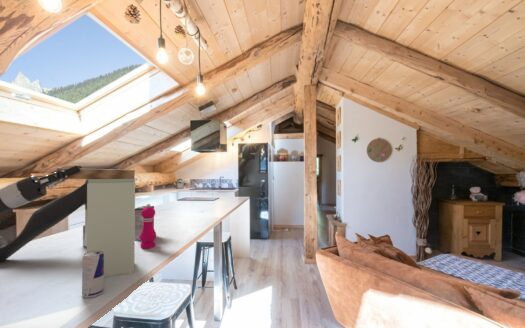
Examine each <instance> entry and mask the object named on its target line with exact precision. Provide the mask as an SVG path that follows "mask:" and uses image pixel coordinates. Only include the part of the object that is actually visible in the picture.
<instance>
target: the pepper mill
mask: <svg viewBox="0 0 525 328" xmlns="http://www.w3.org/2000/svg"><path fill="white" fill-rule="evenodd" d="M145 206H146V208H144V209H143V210H142V212H141V215H142V216H143V218H142V219H143V220H142V221H143V229H142V232H141V234H140V240H139V241H140V242H141V243H140V248H141V249H143V250H144V249H145V250H146V249H153V248H155V246H156V239H157V232H156V230H155V226H154V227H153V221H154V222H155V216H156V210H155V207H154V208H152V207H150V206H151V204H150V203H147V204H146V205H145ZM153 216H154V217H153Z"/></svg>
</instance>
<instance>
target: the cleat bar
mask: <svg viewBox="0 0 525 328" xmlns="http://www.w3.org/2000/svg"><path fill="white" fill-rule="evenodd" d="M69 168H70V167H57V168H56V172H58V171H62V170H67V169H69ZM135 173H136V170H135V169H108V168H107V169H105V168H83V169H80V172H77V173H75V174H73V175H70V176H68V177H67V178H64V179H67V180H69V179H70V180H72V179H73V180H87V179H134V178H135V176H136V175H135Z"/></svg>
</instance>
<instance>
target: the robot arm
mask: <svg viewBox="0 0 525 328" xmlns="http://www.w3.org/2000/svg"><path fill="white" fill-rule="evenodd" d="M68 168H69V169H67V170H62V171H58V172H57V171H56V172H52V173H50V174H47V175H46V174H45V175H43V176H42V177H40V178H39V177H38V176H36V175H30V176H28V177H25V178H22V179H20V180H18V181H16V182H13V183H10V184H8V185H6V186H5V187H2V188H0V215H1V214H3V213H6V212H8V211H10V210H12V209H15V208H19V207H21V206H24V205H26V204H29V203H31V202H33V201H36V200H38V199H40V198H43V197H45V196H46V195H47V194H48V193H47V191H48V190H47V188H48V189H49V188H54V187H56V186H57V185H58V184H61V183H63V182H65V181H66V180H68V179H64V178H67V177H68V176H70V175H73V174H75V173H77V172H80V169H84V168H83V167H82V166H81V165H74V166H72V167H68ZM87 183H88V179H85V181H84V183H83V184H82V185H80V186H79V187H77V188H76V189H74V190H73V191H71V192H69V193H67V194H65V195H63V196H59V197H58V198H56V199H53V200H52V201H50V202H47V203H46V204H45V205H43V206H41V207H40V208H38V209H36V210H35V211H34V212H33V213H32V214H31V216H30V217H29V219H28V220H27V222H26V223H25V225H24V227H23V229H22V231H21V232H20V233H19V234H18V235H17V236H16V237H15V238H14V239H13V240H11V241H10V242H9V243H8V242H7V241H6V240H5V238H4V237H3V236H2V235H0V263H2V261H3V262H4V261H6V260H7V259H9V258H10V257H11V256H13V255H14V254H16V253H17V252H19V250H21V249H22V248H23V247H24V246H26V245H27V244H28V243H30V242H31V241H33V240H34V239H36V238H37V237H38V236H40V235H42V234H43V233H45V232H46V231H48V230H49V229H50V228H53V227H55V226H56V225H58V224H59V223H60V222H62V221H63V220H65V219H66V218H68V217H69V216H70V215H72V214H73V213H74V212H76V211H77V210H78V209H79V208H81V207H82V206H83V205H84V207H85V209H84V211H85V212H84V225H83V226H82V246H83V247H86V248H87Z"/></svg>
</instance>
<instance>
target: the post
mask: <svg viewBox="0 0 525 328" xmlns="http://www.w3.org/2000/svg"><path fill="white" fill-rule="evenodd" d="M135 209H136V178H135V177H134V179H88V183H87V247H86V253H87V252H91V251H103V254H104V278H106V277H113V276H119V275H124V274H125V275H126V274H133V273H134V271H135V270H134V269H135V255H136V253H135V250H136V249H135V247H136V246H135V241H136V240H135Z"/></svg>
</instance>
